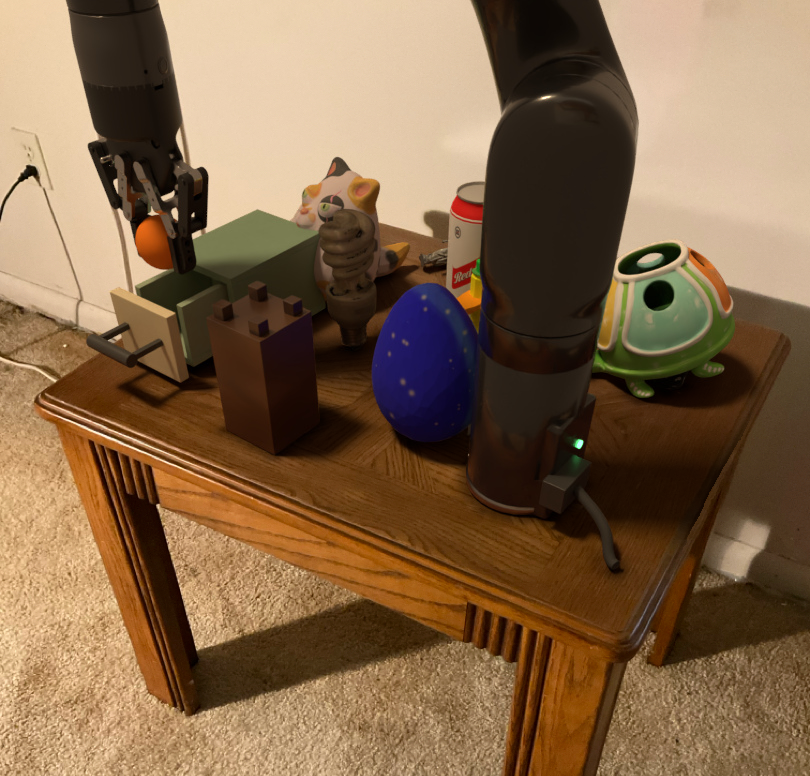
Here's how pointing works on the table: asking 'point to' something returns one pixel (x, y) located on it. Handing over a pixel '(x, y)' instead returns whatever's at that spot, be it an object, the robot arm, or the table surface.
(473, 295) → the toy figure
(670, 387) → the toy car
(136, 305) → the drawer
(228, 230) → the cabinet
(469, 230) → the beer can
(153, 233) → the ball
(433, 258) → the angel statue
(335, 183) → the figurine
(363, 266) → the light bulb
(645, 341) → the turtle holder
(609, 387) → the table surface
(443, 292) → the ornament
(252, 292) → the stand
